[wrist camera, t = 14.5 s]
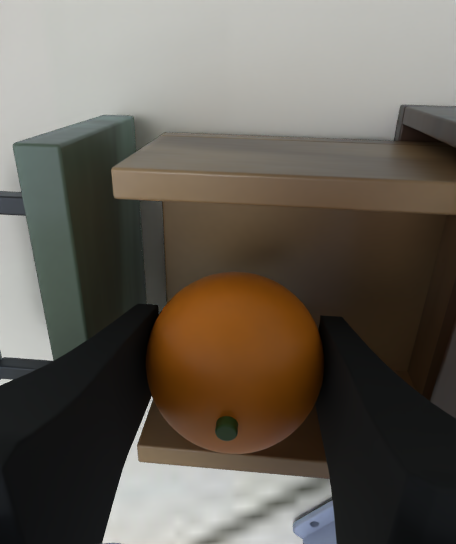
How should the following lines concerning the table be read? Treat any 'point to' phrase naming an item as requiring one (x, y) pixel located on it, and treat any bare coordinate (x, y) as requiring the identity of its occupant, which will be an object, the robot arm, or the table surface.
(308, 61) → the table surface
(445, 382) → the cabinet
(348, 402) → the robot arm
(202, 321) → the orange
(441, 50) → the table surface
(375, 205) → the drawer
